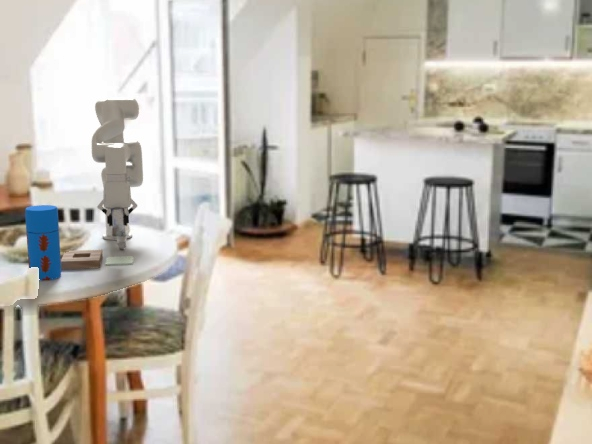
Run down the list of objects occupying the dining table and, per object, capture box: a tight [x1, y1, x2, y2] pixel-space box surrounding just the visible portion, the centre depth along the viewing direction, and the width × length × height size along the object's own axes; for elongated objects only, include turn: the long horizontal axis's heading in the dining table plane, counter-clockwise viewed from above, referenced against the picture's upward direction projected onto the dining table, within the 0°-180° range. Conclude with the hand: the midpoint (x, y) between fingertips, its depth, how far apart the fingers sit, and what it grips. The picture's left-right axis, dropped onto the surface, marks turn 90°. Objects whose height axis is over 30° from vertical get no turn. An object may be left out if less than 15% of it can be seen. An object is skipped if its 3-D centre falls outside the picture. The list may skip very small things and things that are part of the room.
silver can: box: [111, 208, 126, 237], centre depth 278 cm, size 5×5×11 cm
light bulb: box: [116, 223, 131, 251], centre depth 299 cm, size 7×7×12 cm
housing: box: [61, 249, 104, 270], centre depth 279 cm, size 16×14×3 cm
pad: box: [105, 255, 134, 266], centre depth 282 cm, size 10×10×1 cm
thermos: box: [24, 204, 62, 282], centre depth 258 cm, size 11×11×25 cm
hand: (118, 224), depth 278 cm, fingers closed on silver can, 5 cm apart
